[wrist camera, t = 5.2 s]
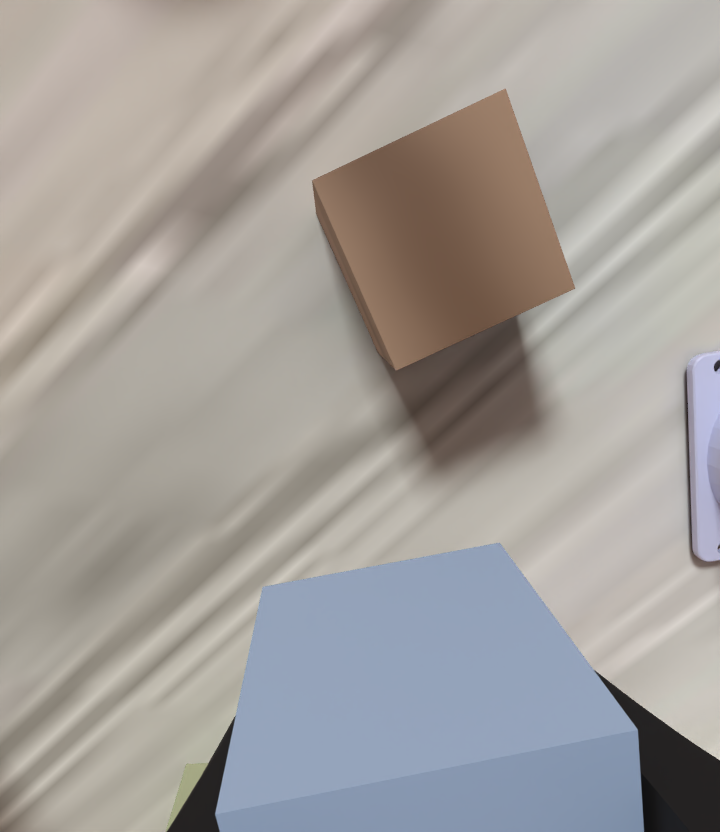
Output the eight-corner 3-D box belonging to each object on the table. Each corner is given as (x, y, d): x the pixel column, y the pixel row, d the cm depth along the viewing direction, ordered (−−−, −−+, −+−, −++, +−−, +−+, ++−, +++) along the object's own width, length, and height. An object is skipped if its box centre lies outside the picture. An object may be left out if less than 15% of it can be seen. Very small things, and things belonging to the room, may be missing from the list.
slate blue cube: (499, 542, 11) (637, 730, 6) (523, 741, 12) (656, 1033, 7) (262, 586, 11) (214, 813, 6) (307, 784, 12) (297, 1111, 7)
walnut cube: (455, 148, 17) (505, 88, 12) (509, 291, 18) (575, 288, 14) (316, 214, 18) (311, 180, 13) (378, 352, 19) (396, 370, 14)
